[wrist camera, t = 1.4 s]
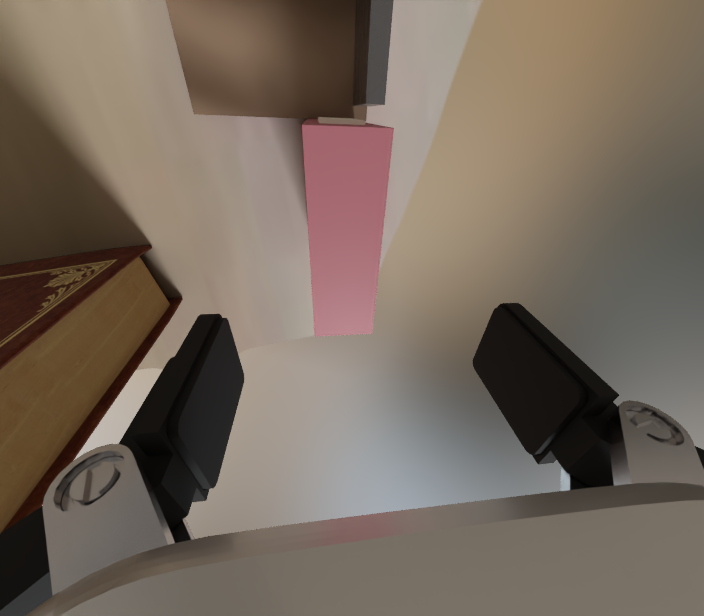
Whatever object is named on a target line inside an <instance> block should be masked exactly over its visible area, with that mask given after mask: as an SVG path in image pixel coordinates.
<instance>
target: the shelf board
mask: <svg viewBox="0 0 704 616" xmlns="http://www.w3.org/2000/svg"><path fill="white" fill-rule="evenodd" d="M166 4H167V8H168V12H169V16H170V20H171V24H172V28H173V32H174V36H175V40H176V44H177V48H178V52H179V56H180V60H181V64H182V68H183V72H184V76H185V80H186V84H187V88H188V92H189V96H190V100H191V104H192V108H193V112H194V114H204V115H229V116H254V117H279V118H304V119H318V117H330V118H353V119H360V120H365V121H366V113H367V107H366V106H353V78H354V43H355V9H356V0H166Z"/></svg>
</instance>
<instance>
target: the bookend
mask: <svg viewBox="0 0 704 616" xmlns="http://www.w3.org/2000/svg"><path fill="white" fill-rule="evenodd" d="M392 10H393V0H356V9H355V43H354V78H353V106H366V107H367V106H376V105H385V93H386V81H387V69H388V57H389V46H390V34H391V22H392Z"/></svg>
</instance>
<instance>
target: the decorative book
mask: <svg viewBox="0 0 704 616" xmlns="http://www.w3.org/2000/svg"><path fill="white" fill-rule="evenodd" d="M151 248H152V246H148V245H146V246H133V247H123V248H114V249H107V250H100V251H94V252H87V253H81V254H74V255H68V256H61V257H55V258H48V259H41V260H35V261H28V262H22V263H15V264H9V265H2V266H0V534H1V533H2V532H4V531H5V530H7V529H8V528H10V527H11V526H13V525H14V524H16V523H17V522H19V521H20V520H22V519H23V518H25V517H26V516H28V515H29V514H31V513H32V512H34V511H35V510H37V509H38V508H40V507H41V506H42V505H43V501H44V496H45V494H46V492H47V490H48V488H49V486H50V484H51V483H52V482H53V481H54V479H55V478H56V477H57V476H58V474H59V473H60V472H61V471H62V470H64V469H65V468H66V467H67V466H68V465H69V464H70V463H71V462H73V460H74V459H75V457H76V456H77V454H78V453H79V451H80V450H81V449H82V447H83V446H84V444H85V443H86V441H87V440H88V438H89V437H90V435H91V434H92V433H93V431H94V430H95V428H96V427H97V425H98V424H99V422H100V421H101V419H102V418H103V417H104V415H105V414H106V412H107V411H108V409H109V408H110V406H111V405H112V404H113V402H114V401H115V399H116V398H117V396H118V395H119V394H120V392H121V390H122V389H123V388H124V386H125V385H126V383H127V382H128V380H129V379H130V377H131V376H132V375H133V373H134V372H135V370H136V369H137V367H138V366H139V365H140V363H141V362H142V360H143V359H144V357H145V356H146V354H147V353H148V351H149V350H150V349H151V347H152V346H153V344H154V343H155V341H156V340H157V338H158V337H159V336H160V334H161V333H162V331H163V330H164V328H165V327H166V325H167V324H168V322H169V321H170V319H171V318H172V316H173V315H174V313H175V311H176V310H177V308H178V306H179V305H180V303H181V301H182V297H179V298H175V299H170V300H167V299H166V297H165V296H164V294H163V292H162V291H161V289H160V288H159V286H158V285H157V283H156V282H155V280H154V278H153V277H152V275H151V274H150V272H149V271H148V269H147V268H146V266H145V264H144V263H143V261H142V260H141V258H140V257H139V256H141V255H142V254H144V253H145V252H147V251H148V250H150V249H151Z"/></svg>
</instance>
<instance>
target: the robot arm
mask: <svg viewBox="0 0 704 616" xmlns="http://www.w3.org/2000/svg"><path fill="white" fill-rule="evenodd" d="M473 367H474V369H475V371H476V372H477V374H478V375H479V377H480V378H481V380H482V382H483V383H484V385H485V386H486V388H487V390H488V391H489V393H490V394H491V396H492V398H493V399H494V401H495V402H496V404H497V406H498V407H499V409H500V410H501V412H502V414H503V415H504V417H505V418H506V420H507V421H508V423H509V425H510V426H511V428H512V429H513V431H514V433H515V434H516V436H517V437H518V439H519V441H520V442H521V444H522V445H523V447H524V448H525V450H526V451H527V452H528V453H529V454H532V455H533V457H534V459H535V460H536V462H537V463H538V464H546V463H554V462H555V461H556V460H558V462H559V463H560V465H561V491H559V492H551V493H542V494H534V495H525V496H517V497H508V498H500V499H491V500H484V501H475V502H466V503H458V504H451V505H442V506H435V507H426V508H418V509H410V510H401V511H393V512H386V513H377V514H370V515H362V516H354V517H346V518H338V519H330V520H323V521H315V522H307V523H299V524H291V525H283V526H276V527H269V528H263V529H256V530H250V531H242V532H235V533H229V534H222V535H215V536H208V537H203V538H198V539H195V538H194V536H193V534H192V532H191V529H190V527H189V525H188V523H187V521H186V519H185V517H186V516H187V515H188V513H189V510H190V507H191V504H192V502H197V501H205V500H206V499H207V495H208V492H209V489H210V488H214V487H215V486H216V483H217V481H218V477H219V473H220V469H221V465H222V462H223V458H224V454H225V451H226V446H227V443H228V440H229V435H230V432H231V428H232V425H233V421H234V417H235V413H236V410H237V406H238V402H239V398H240V395H241V391H242V387H243V383H244V373H243V370H242V366H241V363H240V359H239V356H238V352H237V349H236V346H235V342H234V339H233V335H232V332H231V329H230V325H229V322H228V320H227V318H222V316H221V315H220V314H202V315H199V316H198V318H197V320H196V321H195V323H194V325H193V326H192V328H191V330H190V332H189V333H188V335H187V337H186V338H185V340H184V342H183V344H182V345H181V347H180V349H179V351H178V352H177V354H176V356H175V357H173V358H171V359H170V360H169V361H168V362H167V364H166V366H165V367H164V369H163V371H162V372H161V374H160V376H159V378H158V379H157V381H156V382H155V384H154V386H153V387H152V389H151V391H150V392H149V394H148V396H147V397H146V399H145V401H144V402H143V404H142V406H141V408H140V409H139V411H138V412H137V414H136V416H135V418H134V419H133V421H132V422H131V424H130V426H129V428H128V429H127V431H126V433H125V434H124V436H123V438H122V439H121V441H120V443H119V444H109V445H105V446H101V447H98V448H95V449H93V450H91V451H89V452H87V453H85V454H83V455H82V456H80V457H79V458H77V459H76V460H74V461H73V462H71V463H70V464H69V465H68V466H67V467H66V468H65V469H64V470H62V471H61V472H60V473H59V474H58V476H57V477H56V478H55V479H54V481H53V482H52V483H51V484H50V486H49V488H48V490H47V492H46V494H45V496H44V501H43V506H41V507H40V508H38V509H37V510H35V511H34V512H32V513H31V514H29V515H28V516H26V517H25V518H23V519H22V520H20V521H19V522H17V523H16V524H14V525H13V526H11V527H10V528H8V529H7V530H5V531H4V532H2V533H1V534H0V616H704V450H703V449H700V448H698V447H696V446H694V443H693V441H692V439H691V437H690V435H689V434H688V432H687V431H686V430H685V429H684V428H683V427H682V426H681V425H680V424H679V423H678V422H677V421H676V420H674V419H673V418H672V417H671V416H669V415H667V414H666V413H664V412H662V411H660V410H659V409H657V408H655V407H653V406H650V405H648V404H645V403H641V402H638V401H630V400H629V401H624V402H622V403H621V404H620V405H619V406H618V407H617V406H616V405H615V404H614V403H613V401H614V400H615V399H616V398H617V397H618V396H619V394H618V393H617V392H615V391H614V390H613V389H612V388H611V387H610V386H609V385H608V384H607V383H605V382H604V381H603V380H602V379H601V378H600V377H599V376H598V375H597V374H596V373H595V372H594V371H593V370H591V369H590V368H589V367H588V366H587V365H586V364H585V363H584V362H583V361H582V360H581V359H580V358H578V357H577V356H576V355H575V354H574V353H573V352H572V351H571V350H570V349H569V348H568V347H566V346H565V345H564V344H563V343H562V342H561V341H560V340H559V339H558V338H557V337H556V336H554V335H553V334H552V333H551V332H550V331H549V330H548V329H547V328H546V327H545V326H544V325H543V324H541V323H540V322H539V321H538V320H537V319H536V318H535V317H534V316H533V315H532V314H530V313H529V312H528V311H527V310H526V309H525V308H524V307H523V306H522V305H520V304H519V303H503V304H500V305H499V306H498V307H497V308H495V309H494V311H493V313H492V315H491V318H490V320H489V323H488V325H487V328H486V330H485V332H484V334H483V337H482V339H481V342H480V344H479V346H478V349H477V351H476V354H475V356H474V358H473Z"/></svg>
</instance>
